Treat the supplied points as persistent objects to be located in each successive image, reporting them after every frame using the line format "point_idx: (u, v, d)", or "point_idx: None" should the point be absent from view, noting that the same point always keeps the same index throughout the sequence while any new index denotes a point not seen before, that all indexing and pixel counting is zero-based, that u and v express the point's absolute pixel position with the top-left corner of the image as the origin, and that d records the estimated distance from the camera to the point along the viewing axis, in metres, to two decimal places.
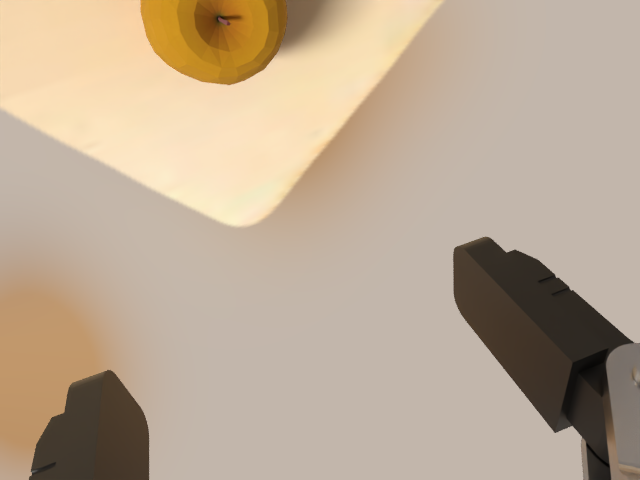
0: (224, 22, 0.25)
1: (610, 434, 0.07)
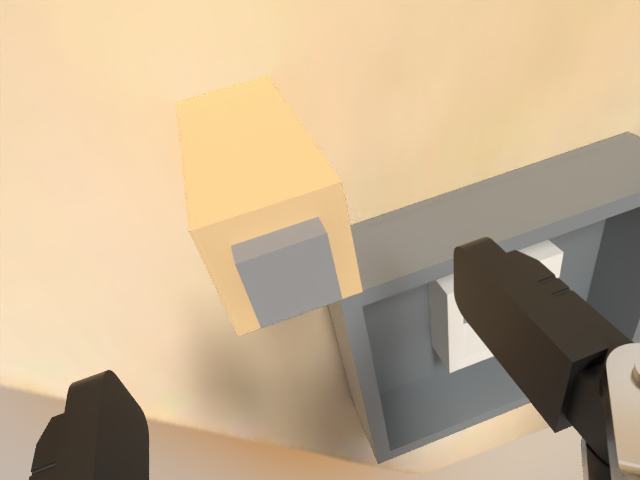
0: None
1: (610, 434, 0.07)
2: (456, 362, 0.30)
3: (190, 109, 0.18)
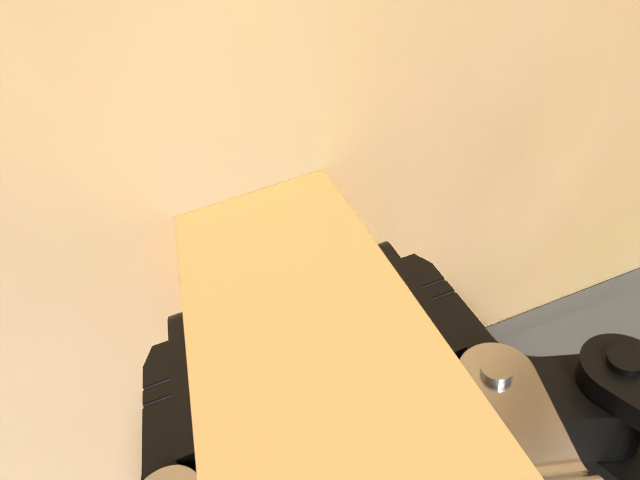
0: None
1: None
2: None
3: (200, 239, 0.11)
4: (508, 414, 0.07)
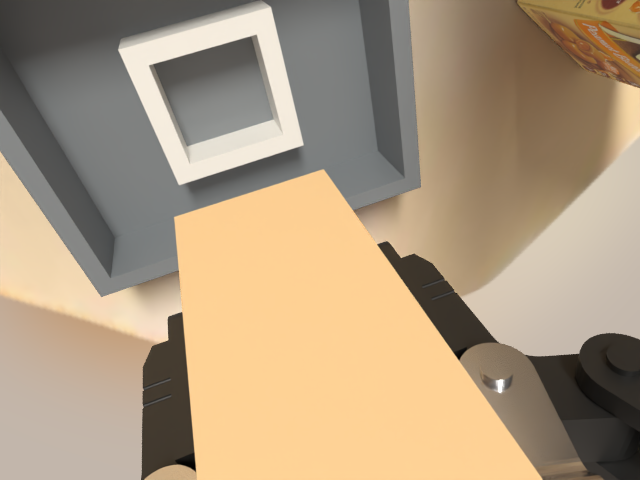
0: None
1: None
2: (182, 169, 0.25)
3: (199, 239, 0.11)
4: (508, 414, 0.07)
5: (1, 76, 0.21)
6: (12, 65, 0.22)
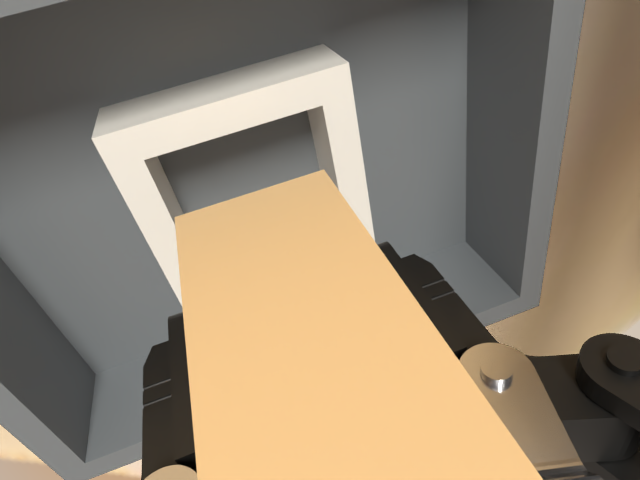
0: None
1: None
2: None
3: (199, 239, 0.11)
4: (508, 414, 0.07)
5: None
6: None
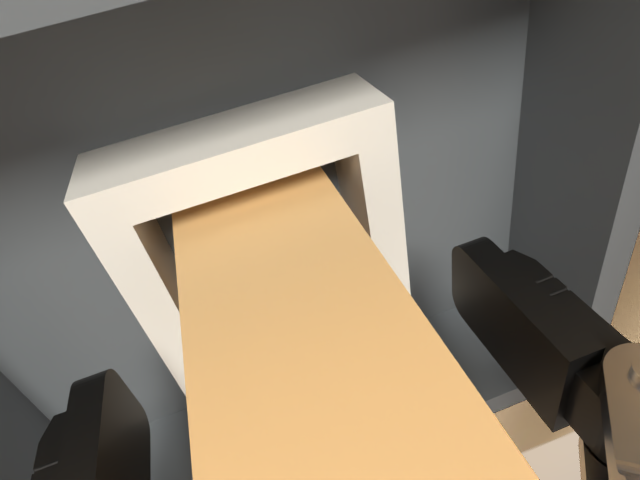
0: None
1: (607, 434, 0.07)
2: None
3: (192, 207, 0.12)
4: None
5: None
6: None
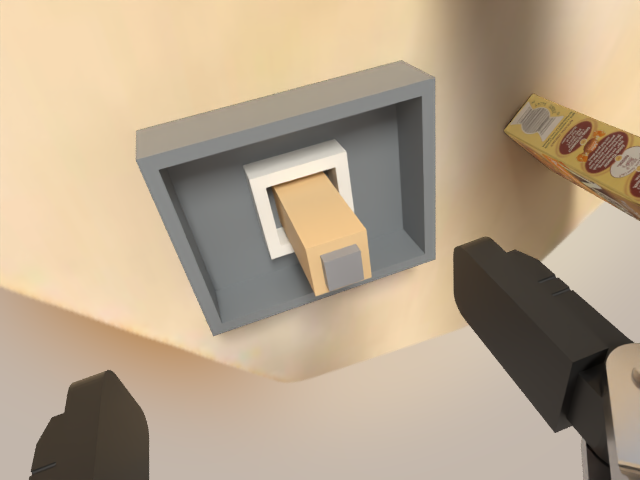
0: None
1: (610, 434, 0.07)
2: (275, 249, 0.36)
3: None
4: None
5: (173, 195, 0.32)
6: (172, 183, 0.34)
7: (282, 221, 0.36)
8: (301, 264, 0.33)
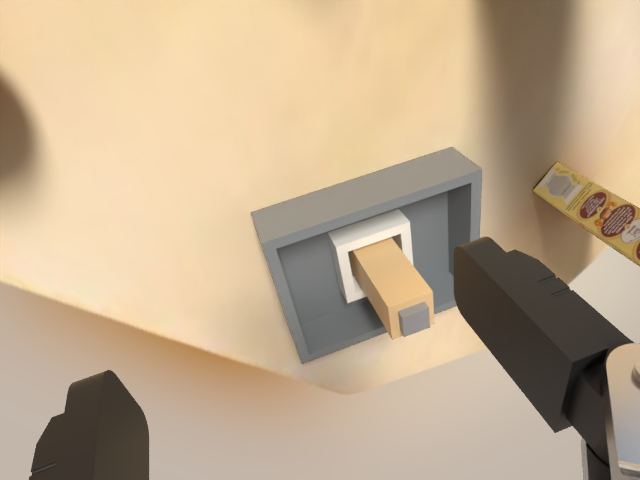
0: None
1: (610, 434, 0.07)
2: (351, 295, 0.46)
3: None
4: None
5: None
6: None
7: (356, 274, 0.45)
8: (377, 312, 0.42)
